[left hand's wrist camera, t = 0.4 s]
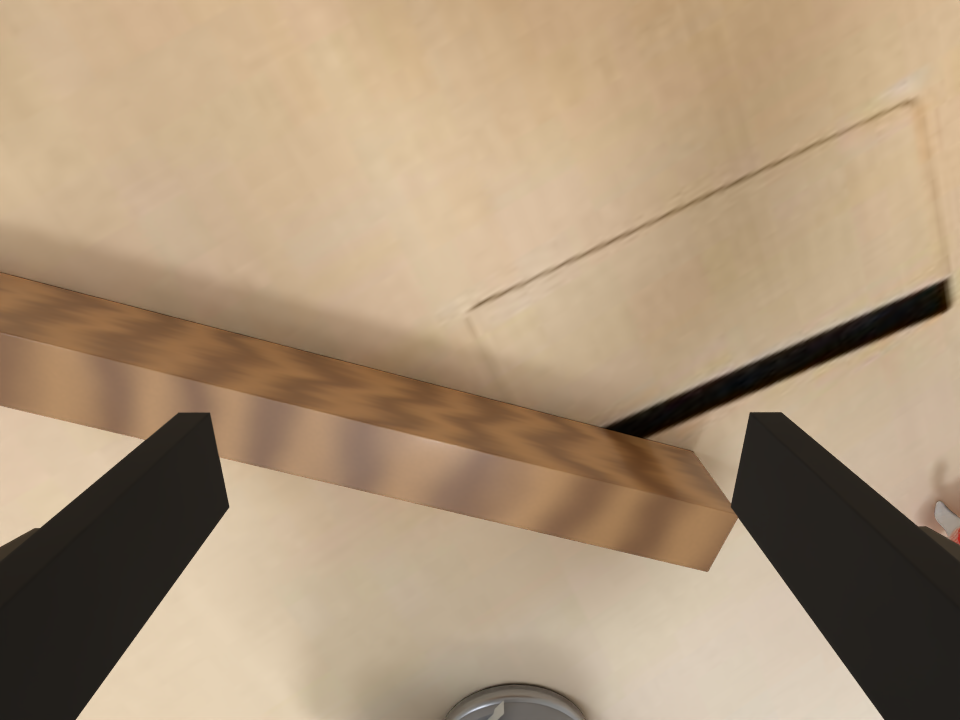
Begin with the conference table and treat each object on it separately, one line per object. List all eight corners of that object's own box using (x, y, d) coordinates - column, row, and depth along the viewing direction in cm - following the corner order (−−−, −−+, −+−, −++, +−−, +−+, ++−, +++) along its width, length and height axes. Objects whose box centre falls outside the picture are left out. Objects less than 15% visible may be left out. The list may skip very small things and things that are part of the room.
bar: (693, 451, 42) (740, 515, 35) (668, 500, 44) (708, 572, 36) (-87, 249, 37) (-236, 273, 29) (-80, 316, 38) (-219, 355, 31)
